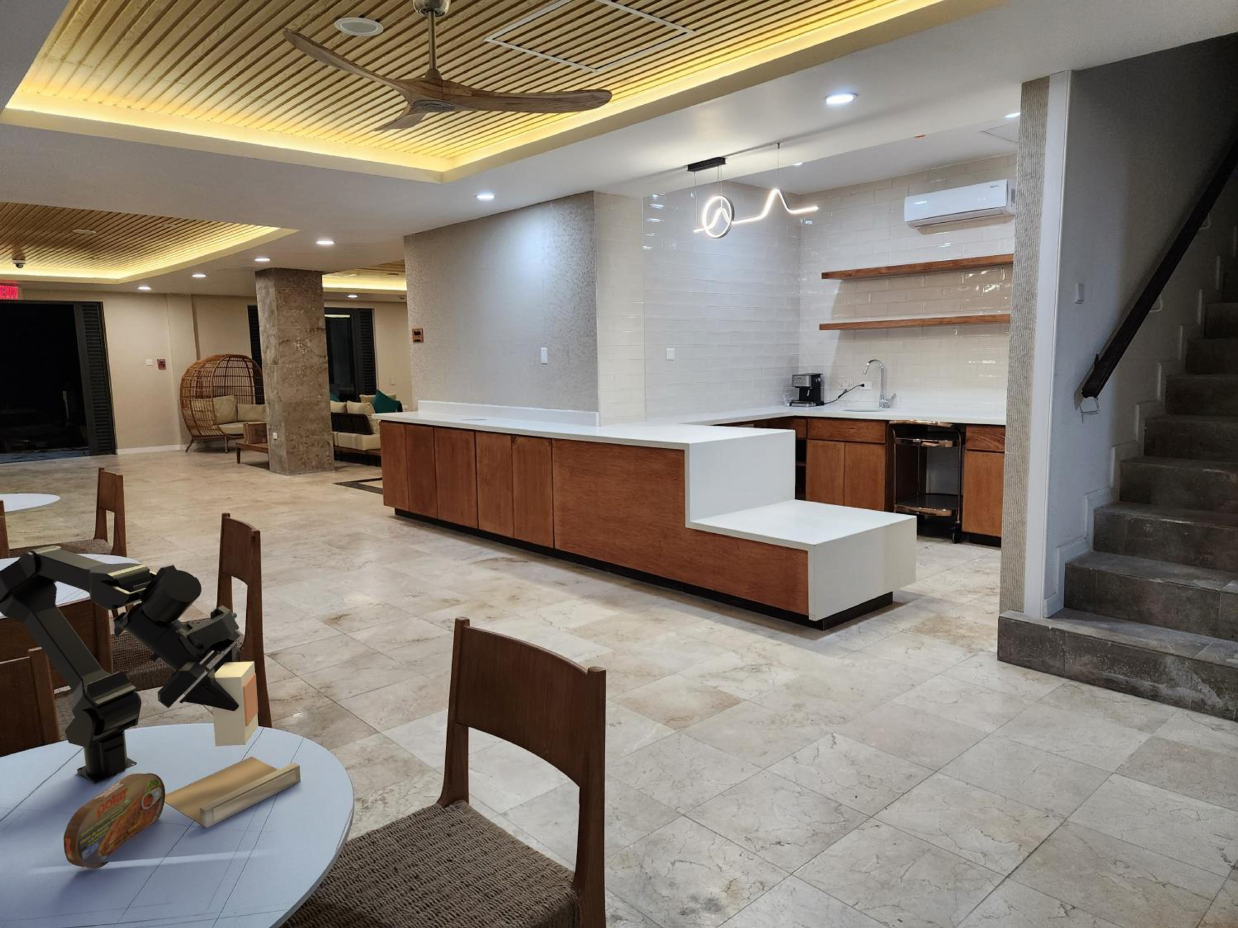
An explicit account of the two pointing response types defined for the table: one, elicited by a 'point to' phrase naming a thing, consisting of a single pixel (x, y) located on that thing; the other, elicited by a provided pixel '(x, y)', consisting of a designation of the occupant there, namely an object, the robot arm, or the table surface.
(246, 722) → the carton
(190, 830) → the table surface
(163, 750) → the table surface
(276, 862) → the table surface
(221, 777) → the shelf
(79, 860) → the tin
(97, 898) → the table surface
